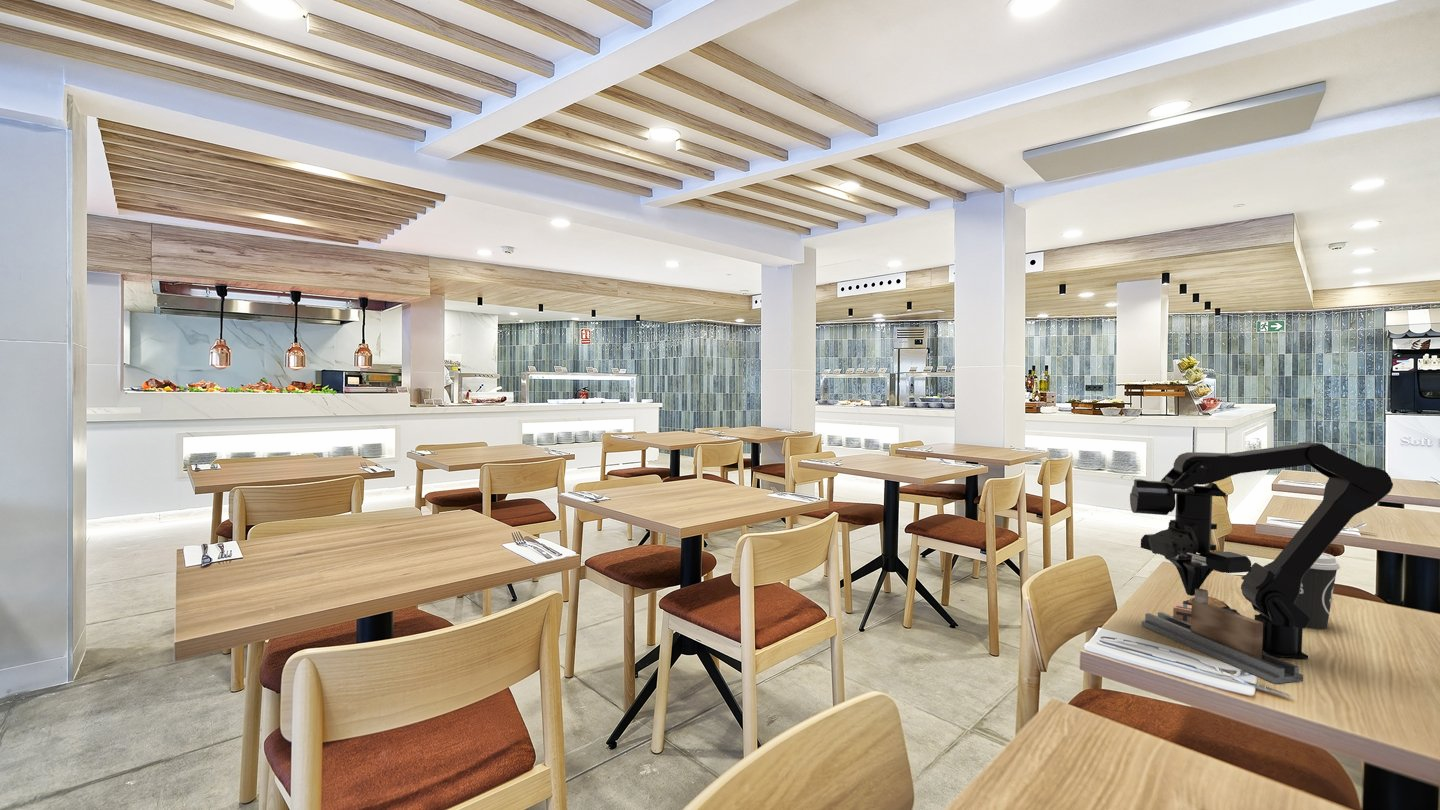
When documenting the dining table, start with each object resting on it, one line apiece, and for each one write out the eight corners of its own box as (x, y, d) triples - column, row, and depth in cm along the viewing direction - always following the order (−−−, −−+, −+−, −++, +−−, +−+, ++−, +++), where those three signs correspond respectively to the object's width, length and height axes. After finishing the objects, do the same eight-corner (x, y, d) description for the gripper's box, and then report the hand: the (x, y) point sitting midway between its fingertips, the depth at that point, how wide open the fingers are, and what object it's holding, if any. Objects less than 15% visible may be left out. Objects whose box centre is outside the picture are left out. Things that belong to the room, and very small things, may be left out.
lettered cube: (1173, 620, 134) (1173, 601, 134) (1196, 624, 132) (1197, 605, 132) (1172, 626, 131) (1173, 607, 131) (1196, 631, 129) (1197, 611, 129)
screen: (1189, 635, 123) (1191, 588, 122) (1198, 634, 123) (1199, 587, 123) (1253, 662, 111) (1255, 610, 111) (1262, 661, 111) (1264, 609, 111)
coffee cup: (1294, 612, 139) (1296, 546, 139) (1348, 628, 130) (1351, 557, 130) (1265, 617, 136) (1268, 549, 136) (1319, 634, 127) (1322, 561, 127)
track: (1141, 625, 131) (1141, 613, 131) (1165, 623, 132) (1165, 611, 132) (1275, 683, 106) (1275, 669, 106) (1302, 680, 107) (1303, 666, 107)
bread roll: (1193, 619, 137) (1194, 602, 137) (1174, 605, 145) (1174, 589, 145) (1249, 623, 135) (1250, 606, 135) (1226, 609, 143) (1227, 593, 143)
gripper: (1119, 508, 131) (1117, 582, 131) (1204, 529, 112) (1202, 615, 113) (1164, 507, 133) (1161, 579, 133) (1255, 527, 115) (1252, 611, 115)
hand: (1190, 595), depth 124 cm, fingers closed
